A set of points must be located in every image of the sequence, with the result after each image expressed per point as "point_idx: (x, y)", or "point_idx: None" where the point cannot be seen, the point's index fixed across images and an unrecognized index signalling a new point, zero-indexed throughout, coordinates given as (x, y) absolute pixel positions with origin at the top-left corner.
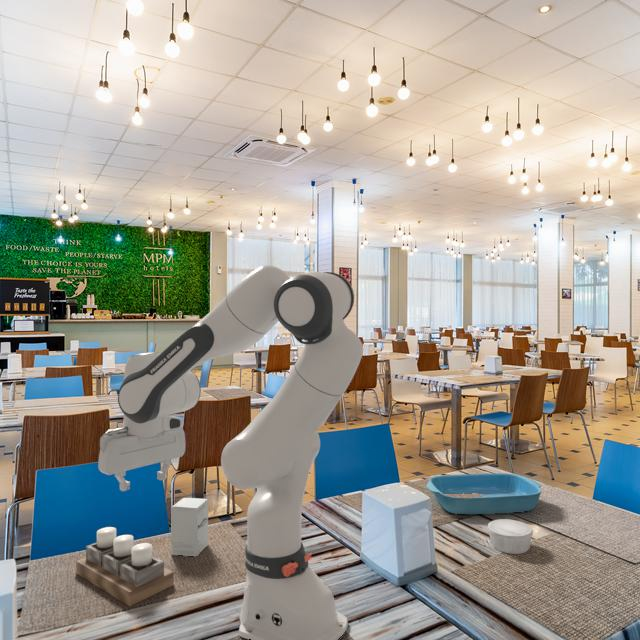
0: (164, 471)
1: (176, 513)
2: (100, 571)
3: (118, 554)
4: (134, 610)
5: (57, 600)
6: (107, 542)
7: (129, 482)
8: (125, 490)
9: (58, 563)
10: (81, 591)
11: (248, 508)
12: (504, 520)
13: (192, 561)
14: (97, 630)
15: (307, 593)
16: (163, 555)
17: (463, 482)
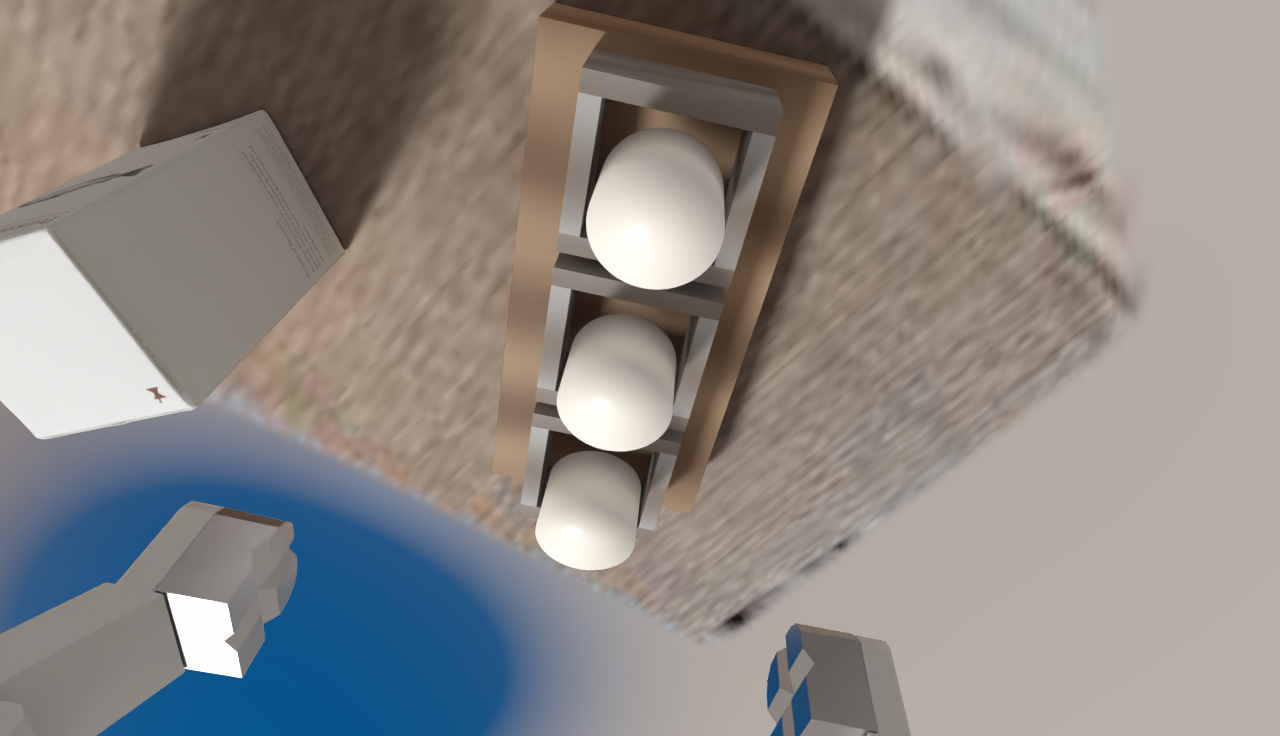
0: (152, 609)
1: (197, 349)
2: (717, 374)
3: (673, 355)
4: (850, 10)
5: (882, 393)
6: (617, 477)
7: (818, 715)
8: (852, 635)
9: (662, 569)
10: (792, 365)
11: None
12: None
13: (311, 98)
14: (1065, 47)
15: None
16: (373, 282)
17: None
